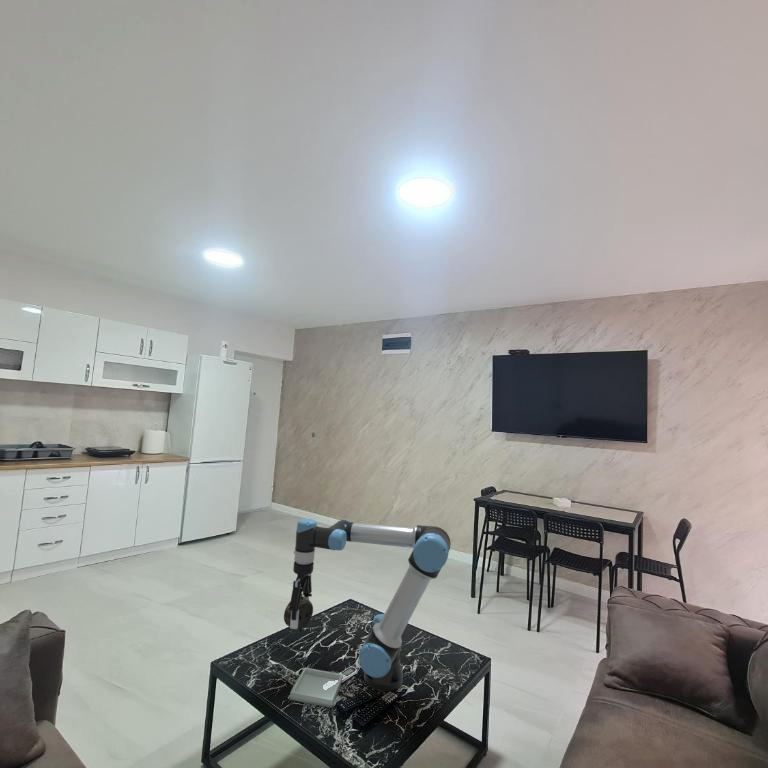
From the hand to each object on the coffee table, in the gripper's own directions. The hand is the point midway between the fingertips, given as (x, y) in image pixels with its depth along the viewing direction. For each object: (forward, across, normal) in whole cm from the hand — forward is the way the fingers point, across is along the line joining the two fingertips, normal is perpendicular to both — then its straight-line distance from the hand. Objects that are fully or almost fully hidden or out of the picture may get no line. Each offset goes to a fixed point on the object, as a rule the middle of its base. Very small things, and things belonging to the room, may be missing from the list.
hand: (299, 620), depth 158 cm
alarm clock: (+4, 0, 0) cm, 4 cm away
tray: (+22, +3, +10) cm, 24 cm away
